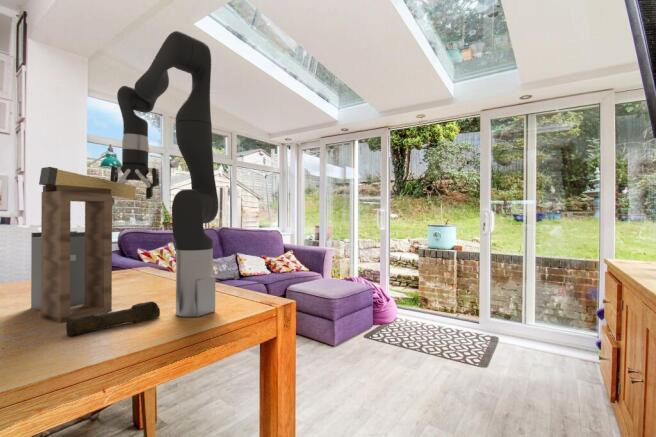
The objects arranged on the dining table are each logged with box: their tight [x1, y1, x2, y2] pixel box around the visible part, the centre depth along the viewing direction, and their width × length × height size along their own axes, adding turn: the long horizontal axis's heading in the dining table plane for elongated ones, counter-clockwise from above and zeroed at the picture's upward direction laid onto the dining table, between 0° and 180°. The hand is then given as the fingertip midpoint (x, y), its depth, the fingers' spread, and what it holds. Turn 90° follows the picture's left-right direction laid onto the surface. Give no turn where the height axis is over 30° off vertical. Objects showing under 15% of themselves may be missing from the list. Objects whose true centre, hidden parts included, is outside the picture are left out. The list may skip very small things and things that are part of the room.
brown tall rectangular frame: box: [40, 185, 113, 324], centre depth 86 cm, size 9×12×34 cm
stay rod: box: [38, 166, 137, 201], centre depth 89 cm, size 4×22×4 cm, turn 153°
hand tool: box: [65, 301, 161, 338], centre depth 77 cm, size 19×4×5 cm, turn 135°
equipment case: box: [30, 230, 85, 311], centre depth 95 cm, size 9×11×21 cm
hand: (134, 198), depth 109 cm, fingers open, 8 cm apart
